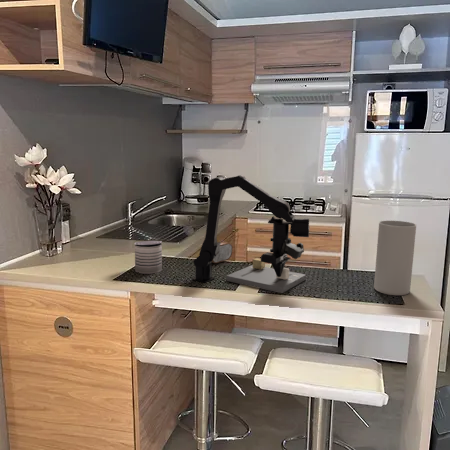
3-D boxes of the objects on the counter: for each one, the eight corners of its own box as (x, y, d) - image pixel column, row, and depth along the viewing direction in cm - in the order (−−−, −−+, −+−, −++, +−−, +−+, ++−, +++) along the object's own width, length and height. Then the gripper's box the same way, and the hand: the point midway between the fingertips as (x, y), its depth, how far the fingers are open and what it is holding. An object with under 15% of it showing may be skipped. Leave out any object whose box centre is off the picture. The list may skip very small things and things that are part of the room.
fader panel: (282, 293, 165) (282, 287, 164) (226, 280, 178) (226, 275, 177) (305, 279, 181) (305, 274, 181) (252, 269, 194) (253, 264, 194)
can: (134, 274, 184) (134, 245, 182) (133, 266, 195) (133, 238, 193) (163, 273, 187) (163, 244, 184) (161, 265, 197) (160, 238, 195)
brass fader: (261, 269, 185) (261, 260, 185) (252, 267, 188) (252, 259, 187) (264, 267, 188) (265, 259, 187) (256, 266, 190) (256, 257, 189)
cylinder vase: (413, 297, 163) (419, 227, 158) (376, 294, 165) (381, 225, 160) (406, 286, 175) (412, 221, 170) (371, 284, 177) (376, 219, 172)
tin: (228, 257, 212) (228, 239, 211) (233, 259, 210) (234, 240, 209) (206, 264, 201) (206, 245, 199) (211, 265, 199) (212, 246, 197)
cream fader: (285, 279, 173) (285, 270, 172) (275, 277, 175) (276, 268, 174) (289, 277, 175) (289, 268, 174) (279, 275, 177) (279, 266, 177)
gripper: (289, 243, 157) (287, 287, 160) (311, 234, 173) (309, 274, 175) (260, 238, 163) (259, 281, 166) (284, 230, 179) (283, 269, 182)
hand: (278, 276), depth 172 cm, fingers closed
